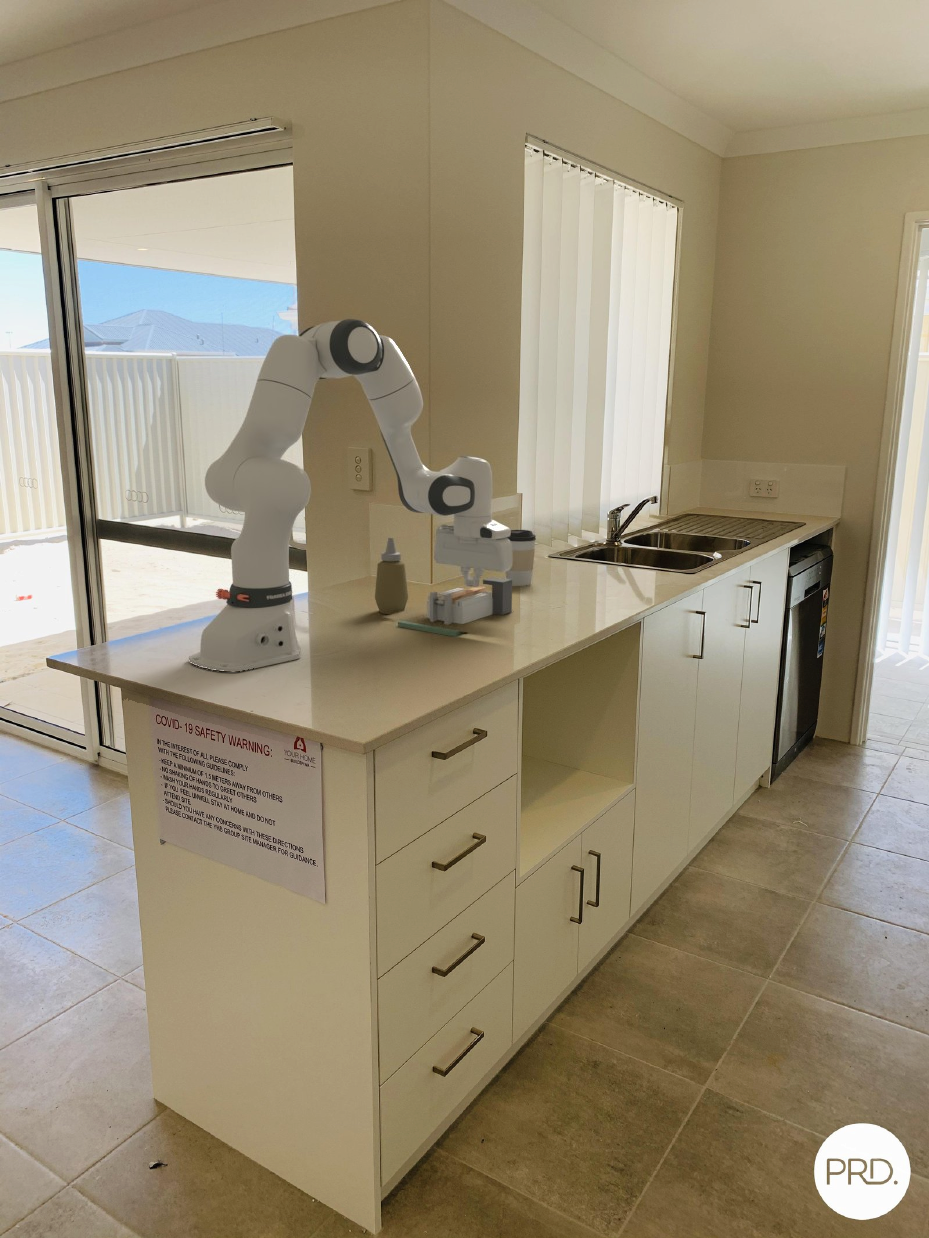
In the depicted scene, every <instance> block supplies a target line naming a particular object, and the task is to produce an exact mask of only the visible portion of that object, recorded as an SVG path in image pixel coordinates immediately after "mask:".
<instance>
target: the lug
mask: <svg viewBox="0 0 929 1238" xmlns="http://www.w3.org/2000/svg"><path fill="white" fill-rule="evenodd" d="M482 584H483V585H488V586H491V593H492V598H493V601H492V615H497V616H498V615H501V616H505V615H506V614H507V615H508V614H511V613H513V609H512V608H513V607H512V606H513V586H512V580H511V579H506V578H505V577H503V578H502V577H494V576H491V577H488V578H484V579H482Z"/></svg>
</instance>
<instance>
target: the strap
mask: <svg viewBox="0 0 929 1238" xmlns="http://www.w3.org/2000/svg"><path fill="white" fill-rule="evenodd" d="M483 592H487V587H486V586H480V585H479V586H478V587H469V588H467V589H465V590H463V591H460V592H457V593H453V594H452V603H455V601H456V600H460V599H463V598H466V597H470V596H473V595H476V594H480V593H483ZM435 605H441V606H444V597H441V598H438V599H435Z"/></svg>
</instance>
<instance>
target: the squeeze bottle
mask: <svg viewBox="0 0 929 1238" xmlns="http://www.w3.org/2000/svg"><path fill="white" fill-rule="evenodd" d="M394 539H395V538H394V537H388V538H387V543H386V548H385V551H383V552H381V553H380V554H381V555H380V557H381V558H380V559H381V561H379V562H378V563H377V567H376V581H375V592H374V593H375V594H374V599H375V603H376V605H377V608H378V610H379V613H381V614H383V615H384V614H385V615H392V614H393V615H394V614H396V613H401V612H403V611H405V609H406V605H407V603H408V600H409V591H408V583H407V574H406V573H407V572H406V566H405V562H403V561H402V556H401V555H402V554H401V552H399V551H397V549H396V545H395V544H396V543H395V540H394Z"/></svg>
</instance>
